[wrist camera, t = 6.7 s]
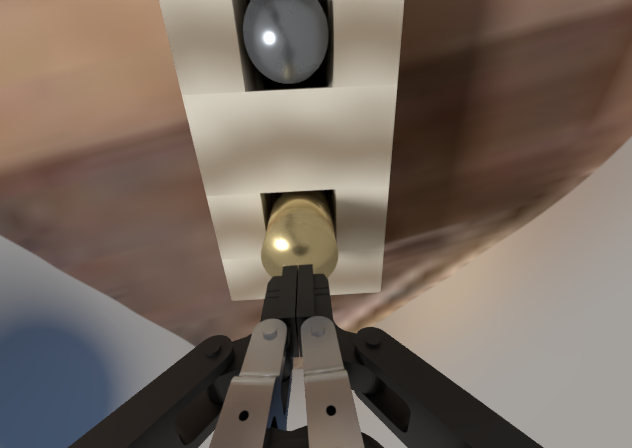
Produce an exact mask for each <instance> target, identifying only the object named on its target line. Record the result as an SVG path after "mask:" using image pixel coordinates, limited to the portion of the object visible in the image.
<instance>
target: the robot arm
mask: <svg viewBox="0 0 632 448" xmlns="http://www.w3.org/2000/svg"><path fill="white" fill-rule="evenodd" d="M299 347H300V357H303V367H304V384H305V398H306V410H307V424H308V425H307V426H304V427H302V428H299V429H296V430H293V431H287V416H288V408H289V399H290V392H291V383H292V369H293V357H299ZM351 390H354V391H355V393H356V395H357V396H358V398H359V399H360V400H362V402H363V403H364V404H365V405H366V406H367V407H368V408H369V409H370V410H371V411H372V412H373V413H374V414H375V415H376V416H377V417H378V418H379V419H380V420H381V421H382V422H383V423H384V424H385V425H386V426H387V427H388V428H389V429H390V430H391V431H392V432H393V433H394V434H395V435H396V436H397V437H398V438H399V439H400V440H401V441H402V442H403V443H404V444H405V445H406V446H407V447H408V448H543V447H542V446H541V445H539V444H538V443H536V442H535V441H534V440H532V439H531V438H530V437H528V436H527V435H525V434H524V433H523V432H521V431H520V430H518V429H517V428H516V427H514V426H513V425H512V424H510V423H509V422H508V421H506V420H505V419H503V418H502V417H501V416H499V415H498V414H497V413H495V412H494V411H493V410H491V409H490V408H488V407H487V406H486V405H484V404H483V403H482V402H480V401H479V400H477V399H476V398H474V397H473V396H472V395H471V394H469V393H468V392H467V391H465V390H463V389H462V388H461V387H460V386H458V385H457V384H455V383H454V382H453V381H451V380H450V379H449V378H447V377H446V376H445V375H443V374H442V373H440V372H439V371H437V370H436V369H435V368H434V367H432V366H431V365H429V364H428V363H427V362H425V361H424V360H423V359H421V358H420V357H418V356H417V355H416V354H414V353H413V352H411V351H410V350H409V349H408V348H406V347H405V346H403V345H402V344H401V343H399V342H398V341H396V340H395V339H394V338H392V337H391V336H390V335H388V334H387V333H386V332H384V331H383V330H381V329H379V328H374V327H366V328H363V329H361V330H359V331H358V332H357V334H356V333H351V332H347V331H344V330H342V329H341V328H339V327H338V326H337V325H336V324H335V322H334V320H333V315H332V307H331V298H330V290H329V281H328V279H327V277H326V276H325V275H324V274H323V273H322V274H313V264H305V265H288V266H283V271H282V276H273V277H272V278H271V280H270V281H269V282H268V284H267V289H266V295H265V300H264V305H263V310H262V315H261V321H260V323H259V324H258V325H257V326H256V327H255V328H254V330H253V333H252V334H250V335H249V336H247V337H245V338H242V339H239V340H236V341H233V342H232V341H231V340H230V338H228V337H227V336H223V335H216V336H212V337H210V338H208V339H206V340H204V341H203V342H202V343H200V344H199V345H198V346H197V347H195V348H194V349H193V350H192V351H190V352H189V353H188V354H186V355H185V356H184V357H183V358H181V359H180V360H179V361H177V362H176V363H175V364H174V365H172V366H171V367H170V368H169V369H167V370H166V371H165V372H163V373H162V374H161V375H160V376H158V377H157V378H156V379H155V380H153V381H152V382H151V383H149V384H148V385H147V386H146V387H144V388H143V389H142V390H141V391H139V392H138V393H137V394H135V395H134V396H133V397H132V398H131V399H129V400H128V401H127V402H125V403H124V404H123V405H121V406H120V407H119V408H118V409H116V410H115V411H114V412H113V413H111V414H110V415H109V416H107V417H106V418H105V419H104V420H102V421H101V422H100V423H99V424H97V425H96V426H95V427H93V428H92V429H91V430H90V431H88V432H87V433H86V434H85V435H83V436H82V437H81V438H80V439H78V440H77V441H76V442H75V443H73V444H72V445H71V446H69V447H68V448H198V447H199V446H200V445H201V444H202V443H203V442H204V441H205V439H206V438H207V437H208V436H209V435H210V434H211V433H212V432H213V431H214V430H215V431H214V434H213V437H212V440H211V443H210V446H209V448H384V447H382V446H381V445H380V444H379V443H378V442H377V441H376V440H374V439H373V438H371V437H370V436H368V435H366V434H365V433H362V432H361V430H360V426H359V422H358V418H357V413H356V408H355V404H354V399H353V395H352V391H351Z"/></svg>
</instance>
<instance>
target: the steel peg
mask: <svg viewBox="0 0 632 448" xmlns="http://www.w3.org/2000/svg"><path fill="white" fill-rule="evenodd" d="M243 37H244V43H245V47H246V50H247V52H248V55H249V57H250V59H251V61H252V62H253V64H254V65H255V66H256V68H257V69H258V70H259V71H260V72H261V73H262V74H263V75H265V76H266V77H268V78H269V79H271V80H273V81H276V82H279V83H285V84H292V83H299V82H302V81H305V80H306V79H308V78H309V77H310V76H311V75H312V74H313V73H314V72H315V71H316V70H317V69H318V67H319V66H320V64H321V63H322V61H323V59H324V56H325V54H326V50H327V45H328V25H327V20H326V17H325V13H324V11H323V9H322V7H321V5H320V3H319V2H318V0H251V1H250V3H249V5H248V7H247V10H246V13H245V17H244V23H243Z"/></svg>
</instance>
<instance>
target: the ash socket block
mask: <svg viewBox="0 0 632 448" xmlns="http://www.w3.org/2000/svg"><path fill="white" fill-rule="evenodd" d="M250 1H251V0H159V3H160V7H161V11H162V15H163V19H164V23H165V27H166V31H167V35H168V40H169V44H170V48H171V52H172V56H173V60H174V64H175V68H176V73H177V77H178V81H179V85H180V89H181V93H182V97H183V101H184V105H185V110H186V114H187V118H188V122H189V126H190V130H191V134H192V138H193V142H194V147H195V151H196V155H197V159H198V163H199V167H200V171H201V175H202V180H203V184H204V188H205V192H206V196H207V200H208V204H209V208H210V212H211V217H212V221H213V225H214V229H215V233H216V237H217V241H218V245H219V250H220V254H221V258H222V262H223V266H224V270H225V274H226V278H227V282H228V287H229V291H230V295H231V299H232V301H235V300H252V299H265V295H266V289H267V284H268V282H269V281H270V280H271V278H272V277H271V276H270V275H269V274H268V273H267V272H266V270H265V269H264V267H263V264H262V261H261V250H262V245H263V242H264V238H265V234H266V230H267V226H268V222H269V219H270V215H271V211H272V207H273V203H274V199H275V197H276V195H277V194H276V192H293V191H312V190H328V203H329V208H330V213H331V218H332V223H333V228H334V233H335V238H336V243H337V248H338V262H337V265H336V268H335V269H334V271H333V272H332V274H331V275H330V276H329V277H328V278H327V279H328V281H329V290H330V295H337V294H354V293H371V292H380V291H381V278H382V266H383V254H384V242H385V230H386V217H387V205H388V193H389V181H390V169H391V157H392V144H393V132H394V120H395V108H396V96H397V83H398V71H399V59H400V47H401V35H402V23H403V10H404V0H318V2H319V3H320V5H321V7H322V9H323V10H324V13H325V17H326V20H327V25H328V45H327V50H326V54H325V86H315V87H295V88H275V89H264V83H263V75H262V73H261V72H260V71H259V70H258V69H257V68H256V66H255V65H254V64H253V62H252V61H251V59H250V57H249V55H248V52H247V50H246V47H245V43H244V37H243V23H244V17H245V13H246V10H247V7H248V5H249V3H250Z"/></svg>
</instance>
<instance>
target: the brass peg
mask: <svg viewBox="0 0 632 448" xmlns="http://www.w3.org/2000/svg"><path fill="white" fill-rule="evenodd" d="M261 261H262V264H263V267H264V269H265V270H266V272H267V273H268V274H269V275H270V276H271V277H273V276H282V271H283V266H288V265H305V264H313V274H322V273H323V274H324V275H325V276H326V277H327V278H328V277H329V276H330V275H331V274H332V272H333V271H334V269H335V268H336V265H337V262H338V248H337V243H336V238H335V233H334V228H333V223H332V218H331V213H330V208H329V203H328V199H327V196H326V195H325V193H324V192H323V190H312V191H293V192H278V193H277V195H276V197H275V199H274V203H273V207H272V211H271V215H270V219H269V222H268V226H267V230H266V234H265V238H264V242H263V245H262V250H261Z"/></svg>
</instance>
